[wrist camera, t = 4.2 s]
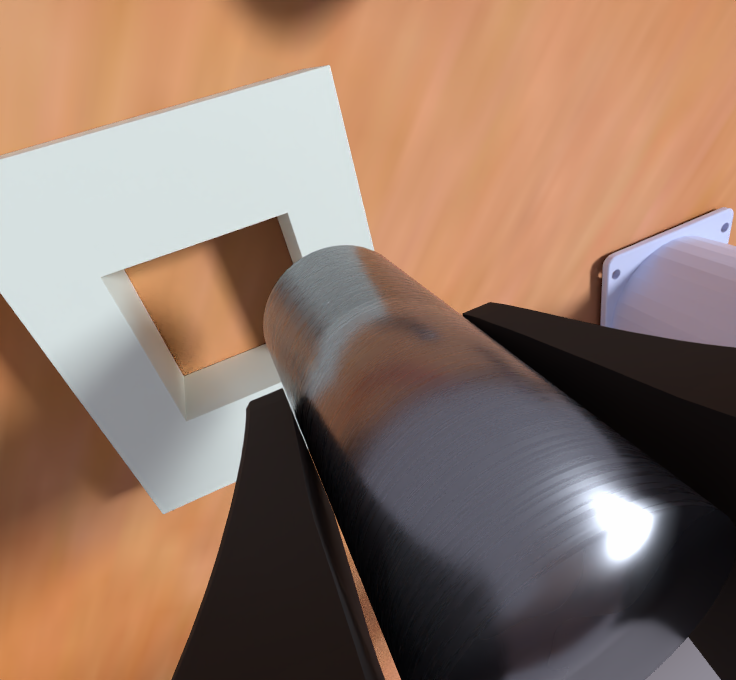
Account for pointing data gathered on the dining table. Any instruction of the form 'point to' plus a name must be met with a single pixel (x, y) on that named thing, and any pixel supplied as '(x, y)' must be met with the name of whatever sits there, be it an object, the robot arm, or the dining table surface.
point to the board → (163, 236)
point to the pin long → (484, 489)
